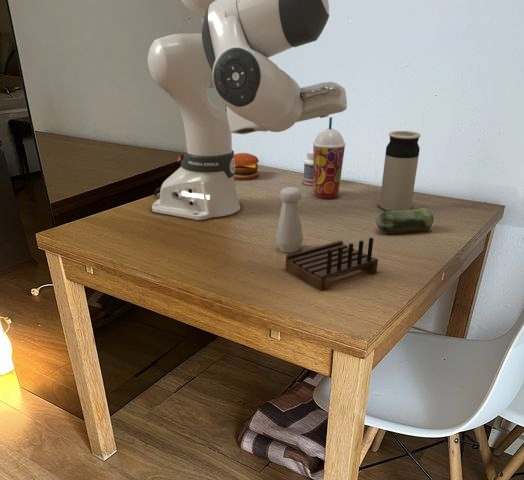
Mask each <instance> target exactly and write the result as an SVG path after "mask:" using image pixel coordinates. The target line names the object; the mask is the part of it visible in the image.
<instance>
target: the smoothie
mask: <svg viewBox="0 0 524 480" xmlns="http://www.w3.org/2000/svg"><path fill="white" fill-rule="evenodd" d="M332 125H333V117H331V116H330V117H329V119H328V128H325V129H323V130H321V131H320V132H319V133H318V134H317V136H316V137H315V140H314V141H313V142H312V145H313V146H312V150H313V164H314V185H313V192H314V193H315V197H317V198H319V199H324V200H326V199H327V200H329V199H334V198H336V197H337V195H338V193H339V192H340V187H341V186H340V185H341V177H342V172H343V171H342V170H343V163H344V157H345V150H346V149H345V148H346V142H345V140H344V137H343V135H342V134H341V132H340V131H338V130H336V129H334V128H332Z"/></svg>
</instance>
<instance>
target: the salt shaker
mask: <svg viewBox="0 0 524 480" xmlns="http://www.w3.org/2000/svg"><path fill="white" fill-rule="evenodd" d="M279 199H280V201H282V204H281V209H280V213H279V219H278V224H277V230H276V234H275V242H276V245H277V247H278V250H279V251H280V252H282V253H285V254H286V253H287V254H293V253H296V252H299V251H300V248H301V246H302V244H303V241H304V235H303V228H302V227H303V226H302V220H301V213H300V211H299V210H300V209H299V201H301V199H302V191H301V189H300V188H298V187H296V186H286V187H283V188H282V189H280V192H279Z"/></svg>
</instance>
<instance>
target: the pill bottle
mask: <svg viewBox="0 0 524 480" xmlns="http://www.w3.org/2000/svg"><path fill="white" fill-rule="evenodd" d="M306 157H307V158H306V159H305V160H304V162H303V163H304V164H303V184H305V185H306V186H314V164H313V149H311V150H307V151H306Z"/></svg>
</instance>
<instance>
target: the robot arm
mask: <svg viewBox="0 0 524 480" xmlns="http://www.w3.org/2000/svg"><path fill="white" fill-rule="evenodd" d="M180 1H181V3H182V4H183V6H184V7H186V9H188V10H189V11H190V12H192V13H193V14H195V15H196V16H198V17H200V19H201V22H202V27H201V32H200V33H195V32H194V33H174V34H173V33H172V34H169V35H165V36H161V37H158V38H156V39H154V40H153V42H152V43H151V45H150V47H149V50H148V53H147V67H148V71H149V73H150V76H151V78H152V79H153V82H154V83H156V85H157V86H158V87H159V88H161V89H162V90H164V91H165V92H166V93H167V94H168V95H169V96H170V97H171V98H172V100H173V101H174V103H175V104H176V106H177V108H178V110H179V113H180V116H181V119H182V123H183V129H184V139H185V147H186V149H185V150H184V151H183V152H182V153H180V154H179V156H177V162H178V163H179V162H180V167H179V168H178V169H176V170H175V171H174V172H173V173H172V174H171V175H170V176H168V177H167V178H166V179H165V180H164V181H163V182H162V184H161V185H160V187H158V188H156V189H155V191H154V193H153V196H154V197H157V196H158V193H159V198H158V199H156V200H155V201H154V202H153V203H152V204H151V211H152V212H153V213H158V214H161V215H162V214H163V215H168V216H174V217H180V218H184V219H185V218H186V219H190V220H196V221H204V220H208V219H212V218H220V217H226V216H230V215H233V214H235V213H237V212H238V211H240V209H241V205H240V201H239V198H238V195H237V194H238V193H237V188H236V182H235V179H234V173H235V159H234V154H235V151H234V150H233V136H232V135H233V134H235V135H246V134H251V133H256V132H266V133H267V132H271V133H280V132H285V131H287V130H289V129H290V128H292V127H293V126H294V125H295V124H296V123H299V122H303V121H308V120H312V119H317V118H320V119H323V118H327V117H329V116H330V115H334V114H338V113H343V112H344V111H346V110H347V108H348V101H347V100H348V99H347V92H346V91H347V90H346V89H345V88H344V87H343V86H342V85H341V84H338V83H336V82H334V81H324V82H318V83H315V84H314V83H313V84H311V85H307V86H302V87H301V86H300V84H298V82H297V81H296V80H295V79H294V78H293V77H291V76H290V75H289V74H288V73H287V72H286V71H284V70H283V69H281V68H280V67H279V66H278V64H276V63H275V62H274V61H272V60H271V59H269V58H271V57H274V56H276V55H279V54H280V53H283V52H286V51H287V50H290V49H292V48H298V47H301V46H304V45H306V44H311V43H313V42H316V41H317V40H318V39H319V38H320V36H321V34H322V33H323V31H324V29H325V27H326V25H327V23H328V21H329V18H330V4H329V0H180ZM209 89H214V90H215V92H216V94H217V96H218V98H219V99H220V101H221V102H222V104H224V106H225V107H226V110H225V109H223V108H222V107H220V106H218V105H217V104H215V103H212V102H211V100H210V97H209Z"/></svg>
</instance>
